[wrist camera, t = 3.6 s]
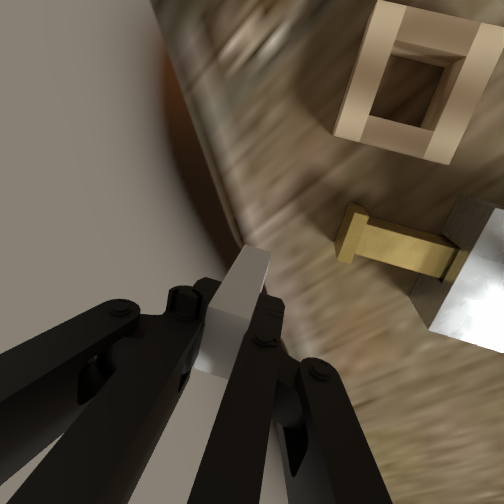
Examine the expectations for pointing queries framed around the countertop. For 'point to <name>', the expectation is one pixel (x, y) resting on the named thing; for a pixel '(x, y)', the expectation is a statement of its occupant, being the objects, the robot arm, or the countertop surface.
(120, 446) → the robot arm
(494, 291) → the socket block
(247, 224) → the countertop surface
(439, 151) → the wooden square frame
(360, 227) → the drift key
